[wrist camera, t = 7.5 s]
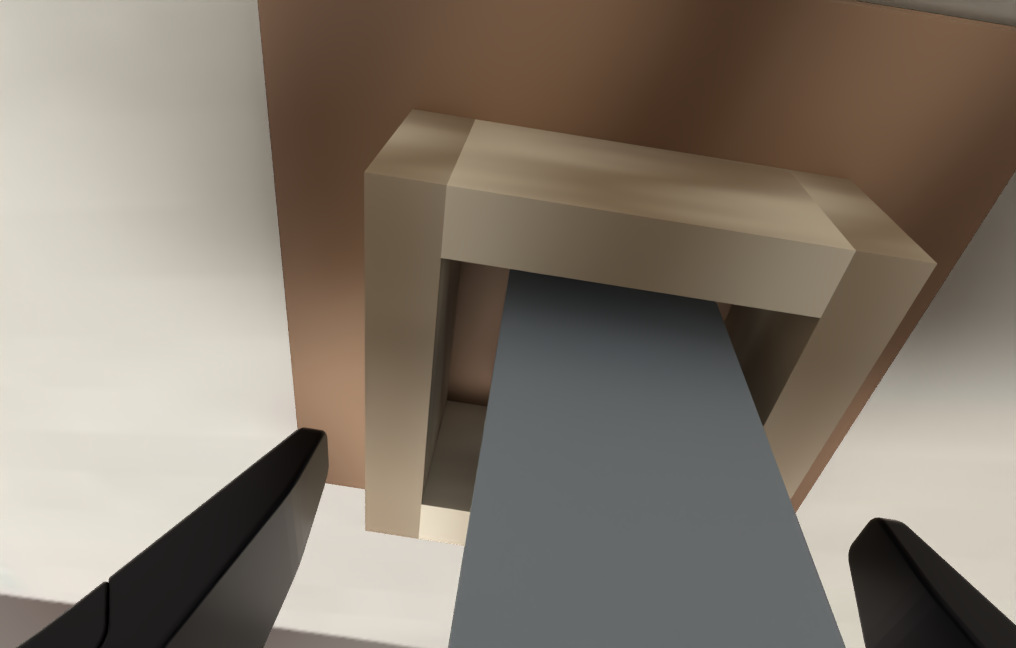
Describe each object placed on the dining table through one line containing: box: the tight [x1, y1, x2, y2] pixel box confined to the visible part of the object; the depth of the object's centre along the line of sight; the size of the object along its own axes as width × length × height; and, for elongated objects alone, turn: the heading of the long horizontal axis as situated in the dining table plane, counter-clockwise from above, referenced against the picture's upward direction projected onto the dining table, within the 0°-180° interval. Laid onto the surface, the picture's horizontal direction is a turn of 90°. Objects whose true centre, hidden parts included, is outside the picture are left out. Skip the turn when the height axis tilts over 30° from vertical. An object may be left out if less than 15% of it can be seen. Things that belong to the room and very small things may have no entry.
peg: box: [448, 269, 846, 648], centre depth 10 cm, size 4×4×10 cm
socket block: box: [258, 0, 1016, 546], centre depth 13 cm, size 14×14×4 cm
